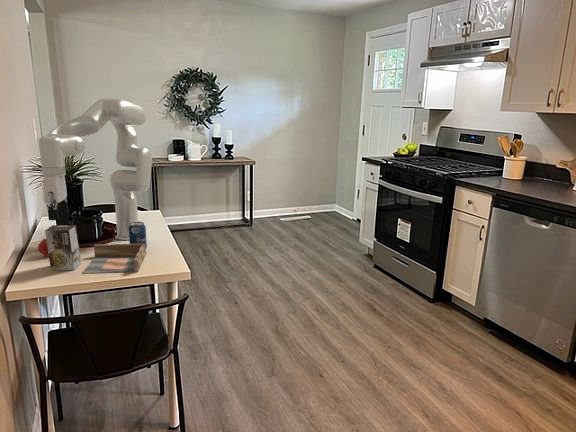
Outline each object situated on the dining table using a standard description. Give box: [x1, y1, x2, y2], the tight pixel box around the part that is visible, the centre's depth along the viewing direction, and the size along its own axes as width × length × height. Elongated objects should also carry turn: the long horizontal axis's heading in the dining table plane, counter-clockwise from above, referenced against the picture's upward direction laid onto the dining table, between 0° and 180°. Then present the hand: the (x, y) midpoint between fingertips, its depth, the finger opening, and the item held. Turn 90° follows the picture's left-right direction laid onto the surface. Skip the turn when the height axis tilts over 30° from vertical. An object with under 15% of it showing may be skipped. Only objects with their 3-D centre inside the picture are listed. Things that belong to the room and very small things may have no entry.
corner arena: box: [81, 243, 147, 275], centre depth 168 cm, size 18×20×5 cm
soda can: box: [128, 221, 148, 249], centre depth 182 cm, size 7×7×12 cm
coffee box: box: [44, 224, 82, 271], centre depth 162 cm, size 9×6×16 cm
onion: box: [37, 237, 49, 258], centre depth 172 cm, size 6×6×8 cm
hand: (58, 216), depth 158 cm, fingers open, 9 cm apart
